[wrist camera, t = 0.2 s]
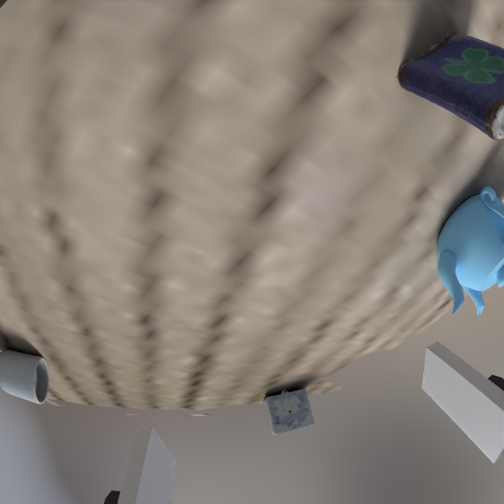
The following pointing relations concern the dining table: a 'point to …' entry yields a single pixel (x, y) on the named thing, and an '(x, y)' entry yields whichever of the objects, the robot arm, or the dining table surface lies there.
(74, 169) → the dining table surface
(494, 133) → the flask
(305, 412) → the incense holder
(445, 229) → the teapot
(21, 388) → the ceramic mug
